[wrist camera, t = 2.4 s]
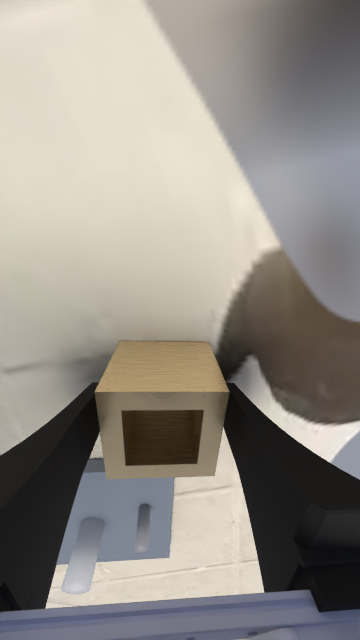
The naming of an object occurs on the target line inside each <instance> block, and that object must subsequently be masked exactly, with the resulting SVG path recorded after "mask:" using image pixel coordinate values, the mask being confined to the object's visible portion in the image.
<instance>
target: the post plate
mask: <svg viewBox="0 0 360 640" xmlns="http://www.w3.org/2000/svg"><path fill="white" fill-rule="evenodd" d="M173 489H174V477H167V478H136V479H106V472H105V465H104V459H89V460H88V462H87V464H86V467H85V469H84V472H83V475H82V478H81V481H80V484H79V487H78V490H77V493H76V497H75V500H74V503H73V507H72V510H71V513H70V517H69V520H68V524H67V527H66V531H65V534H64V538H63V542H62V545H61V549H60V553H59V556H58V560H57V564H56V565H59V564H68V568H67V571H66V574H65V577H64V581H63V584H62V587H61V589H62V591H63V592H65V593H68V594H82V593H85V592H87V591H89V590H90V586H91V582H92V578H93V573H94V569H95V564H96V562H107V561H123V560H140V559H156V558H169V555H170V539H171V522H172V506H173Z"/></svg>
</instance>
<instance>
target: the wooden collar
mask: <svg viewBox="0 0 360 640" xmlns="http://www.w3.org/2000/svg"><path fill="white" fill-rule="evenodd" d="M228 397H229V390H228V387H227V385H226V382H225V380H224V378H223V375H222V373H221V370H220V368H219V366H218V363H217V361H216V358H215V356H214V353H213V351H212V349H211V346H210V344H209V342H164V341H119V343H118V346H117V348H116V350H115V352H114V354H113V356H112V358H111V360H110V362H109V364H108V366H107V368H106V370H105V372H104V374H103V376H102V378H101V380H100V382H99V384H98V386H97V388H96V390H95V398H96V406H97V413H98V420H99V428H100V435H101V442H102V450H103V457H104V465H105V472H106V479H136V478H167V477H197V476H215V470H216V465H217V459H218V453H219V448H220V442H221V436H222V431H223V425H224V419H225V414H226V408H227V402H228Z"/></svg>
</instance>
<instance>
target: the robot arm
mask: <svg viewBox="0 0 360 640" xmlns="http://www.w3.org/2000/svg"><path fill="white" fill-rule="evenodd" d="M98 384H99V383H92V384H90V385H89V386H88V387H87V388H86V389H85V390H84V391H83V392H82V393H81V394H80V395H79V396H78V397H76V398H75V399H74V400H73V401H72V402H71V403H70V404H69V405H68V406H67V407H65V408H64V409H63V410H62V411H61V412H60V413H59V414H57V415H56V416H55V417H54V418H53V419H51V420H50V421H49V422H48V423H47V424H45V425H44V426H43V427H41V428H40V429H39V430H38V431H36V432H35V433H33V434H32V435H31V436H29V437H28V438H27V439H25V440H24V441H22V442H21V443H19V444H18V445H16V446H15V447H13V448H12V449H10V450H9V451H7V452H6V453H4V454H2V455H1V456H0V640H235V639H246V638H249V639H247V640H360V480H359V479H357V478H355V477H353V476H351V475H350V474H348V473H346V472H344V471H342V470H341V469H339V468H337V467H336V466H334V465H333V464H331V463H329V462H328V461H326V460H324V459H323V458H321V457H320V456H318V455H317V454H315V453H313V452H312V451H311V450H309V449H308V448H306V447H305V446H303V445H302V444H300V443H299V442H298V441H296V440H295V439H294V438H292V437H291V436H290V435H288V434H287V433H286V432H285V431H283V430H282V429H281V428H279V427H278V426H277V425H276V424H275V423H274V422H272V421H271V420H270V419H269V418H268V417H267V416H266V415H265V414H264V413H262V412H261V411H260V410H259V409H258V408H257V407H256V406H255V405H254V404H253V403H252V402H251V401H250V400H249V399H248V398H247V397H246V396H245V395H244V394H243V392H242V391H241V390H240V389H239V388H238V387H237V386H236V385H235V384H234V383H226V385H227V387H228V390H229V397H228V402H227V408H226V414H225V419H224V425H223V427H224V430H225V433H226V436H227V439H228V442H229V445H230V448H231V451H232V453H233V456H234V459H235V462H236V465H237V469H238V472H239V475H240V479H241V483H242V488H243V492H244V496H245V500H246V504H247V509H248V513H249V517H250V522H251V527H252V531H253V536H254V541H255V546H256V550H257V555H258V561H259V566H260V571H261V576H262V581H263V587H264V592H265V593H255V594H241V595H228V596H214V597H200V598H186V599H173V600H159V601H145V602H132V603H118V604H104V605H90V606H77V607H63V608H49V609H45V607H46V603H47V599H48V595H49V591H50V587H51V583H52V579H53V575H54V572H55V568H56V564H57V560H58V556H59V553H60V549H61V545H62V542H63V538H64V534H65V531H66V527H67V524H68V520H69V517H70V513H71V510H72V507H73V503H74V500H75V497H76V493H77V490H78V487H79V484H80V481H81V478H82V475H83V472H84V469H85V467H86V464H87V462H88V460H89V457H90V455H91V452H92V450H93V447H94V445H95V442H96V440H97V437H98V435H99V432H100V428H99V420H98V413H97V406H96V398H95V390H96V388H97V386H98Z"/></svg>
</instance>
